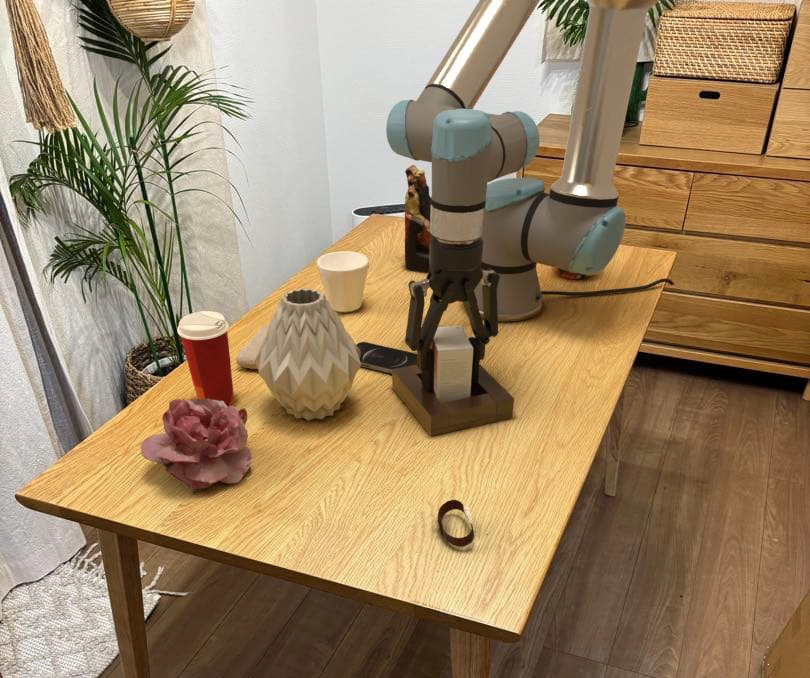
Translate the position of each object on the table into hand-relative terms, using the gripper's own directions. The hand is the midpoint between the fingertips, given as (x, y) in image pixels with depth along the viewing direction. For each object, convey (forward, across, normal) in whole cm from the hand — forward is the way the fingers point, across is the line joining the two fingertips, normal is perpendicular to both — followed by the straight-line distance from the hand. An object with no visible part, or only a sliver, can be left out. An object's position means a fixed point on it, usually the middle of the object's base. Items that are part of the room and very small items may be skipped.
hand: (449, 382), depth 125 cm
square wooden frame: (+4, 0, 0) cm, 4 cm away
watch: (+4, +13, +30) cm, 33 cm away
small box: (+3, 0, 0) cm, 3 cm away
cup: (+4, +3, -42) cm, 42 cm away
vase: (+4, +21, -7) cm, 22 cm away
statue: (+3, -20, -57) cm, 60 cm away
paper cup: (+4, +35, -15) cm, 38 cm away
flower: (+4, +40, +3) cm, 40 cm away
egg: (+3, -47, -39) cm, 61 cm away
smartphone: (+4, +4, -17) cm, 18 cm away
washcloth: (+4, +19, -28) cm, 34 cm away
